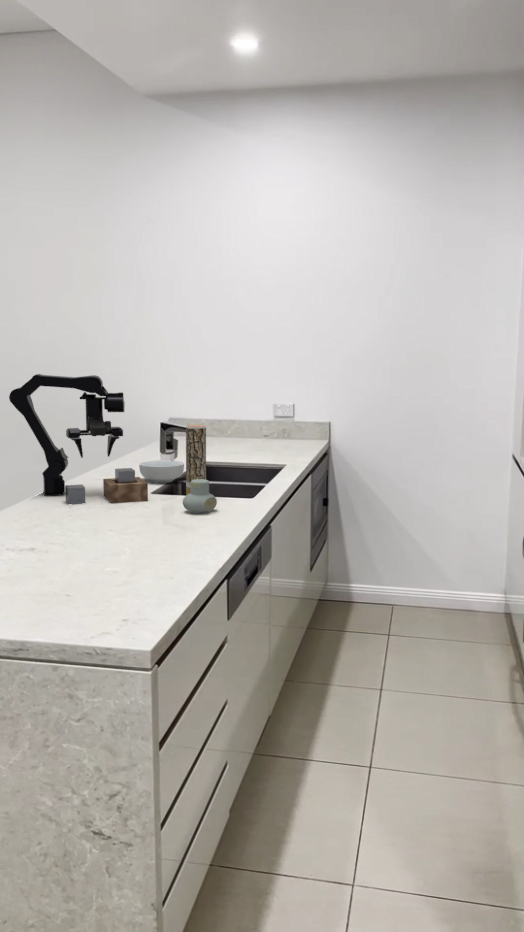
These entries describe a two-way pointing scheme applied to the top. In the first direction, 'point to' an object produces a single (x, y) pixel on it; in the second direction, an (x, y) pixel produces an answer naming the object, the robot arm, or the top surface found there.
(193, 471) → the bark textured wooden post
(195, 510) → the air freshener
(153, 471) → the cereal bowl
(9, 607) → the top surface
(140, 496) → the brown wooden open box
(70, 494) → the gray cube
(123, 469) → the grey rectangular block
